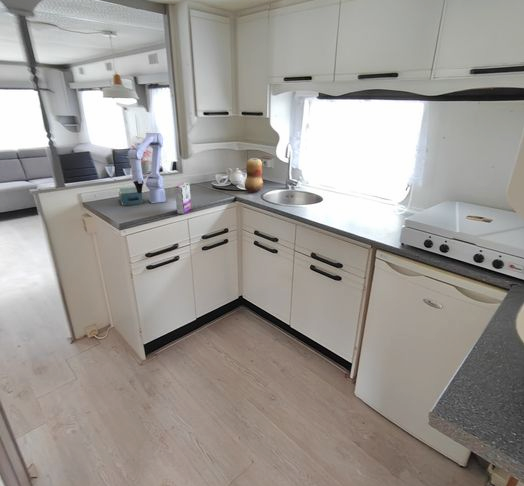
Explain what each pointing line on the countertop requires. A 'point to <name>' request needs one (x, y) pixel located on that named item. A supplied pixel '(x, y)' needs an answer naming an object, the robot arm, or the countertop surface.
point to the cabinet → (127, 191)
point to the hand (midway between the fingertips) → (139, 192)
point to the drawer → (132, 198)
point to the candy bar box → (183, 198)
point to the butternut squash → (254, 175)
